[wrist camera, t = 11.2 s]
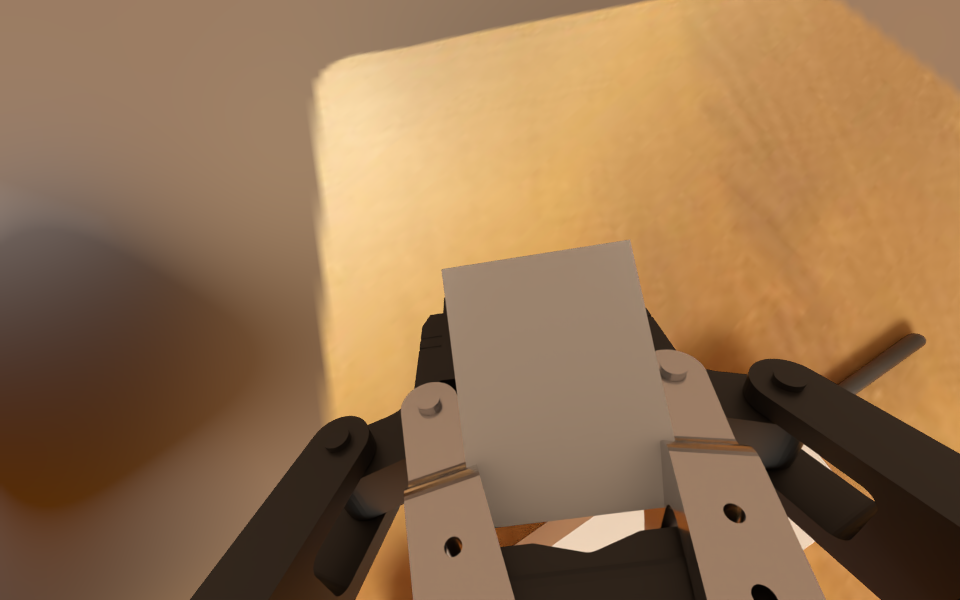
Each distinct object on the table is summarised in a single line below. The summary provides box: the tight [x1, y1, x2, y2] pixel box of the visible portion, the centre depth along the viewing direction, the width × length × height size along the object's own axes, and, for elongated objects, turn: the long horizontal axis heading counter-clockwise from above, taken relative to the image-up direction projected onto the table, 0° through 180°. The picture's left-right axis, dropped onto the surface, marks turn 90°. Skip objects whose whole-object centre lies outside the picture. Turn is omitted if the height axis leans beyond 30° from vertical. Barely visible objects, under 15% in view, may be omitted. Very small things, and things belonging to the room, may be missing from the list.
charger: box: [442, 240, 675, 528], centre depth 11 cm, size 4×4×10 cm
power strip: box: [515, 333, 926, 552], centre depth 24 cm, size 42×8×4 cm, turn 124°
